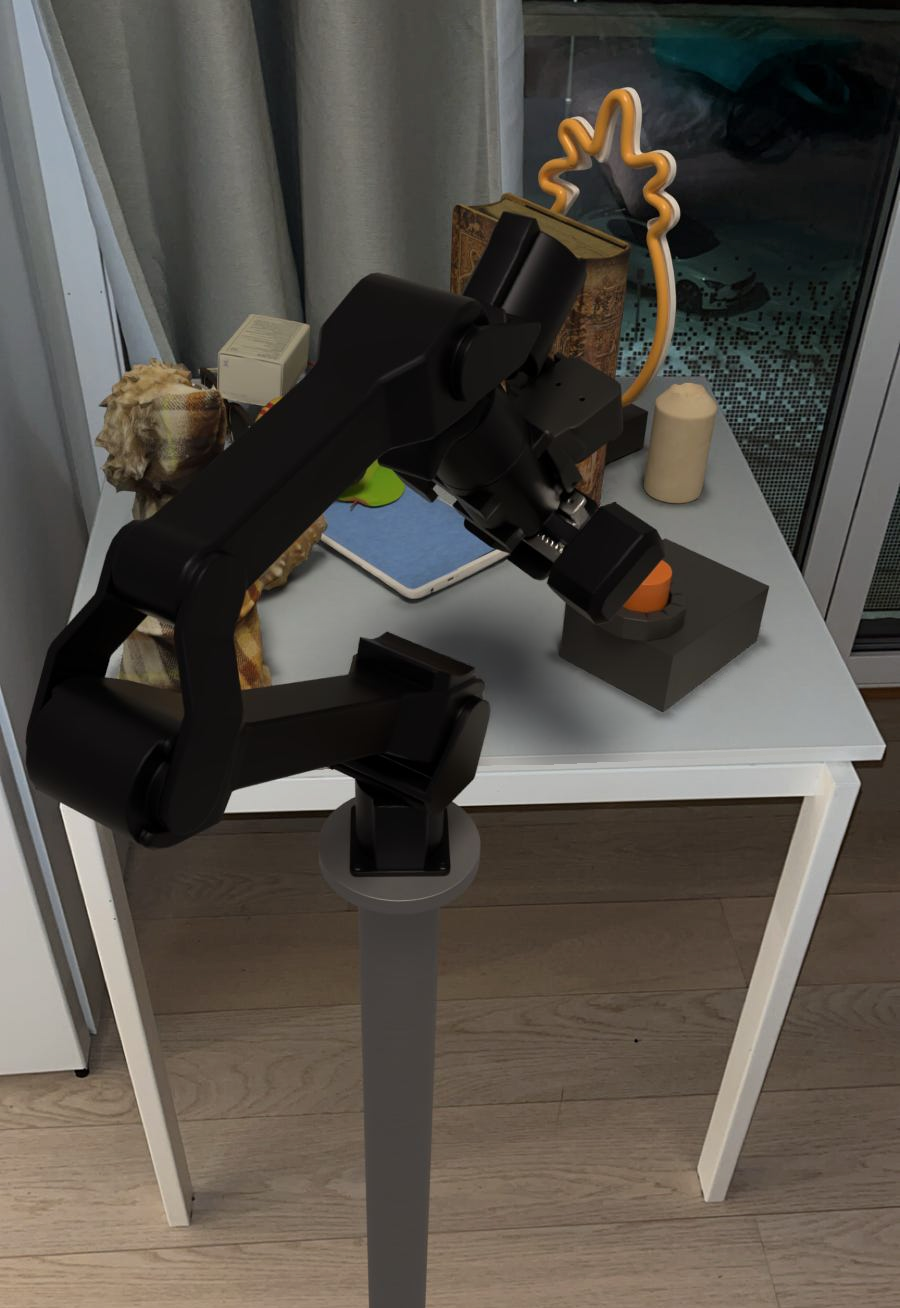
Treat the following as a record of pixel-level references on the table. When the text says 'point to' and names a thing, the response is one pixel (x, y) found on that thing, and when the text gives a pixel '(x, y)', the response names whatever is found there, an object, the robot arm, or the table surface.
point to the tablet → (408, 542)
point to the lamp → (597, 143)
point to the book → (595, 309)
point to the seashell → (293, 555)
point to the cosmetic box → (262, 359)
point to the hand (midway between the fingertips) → (564, 563)
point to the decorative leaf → (375, 487)
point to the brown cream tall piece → (169, 497)
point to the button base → (671, 631)
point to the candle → (679, 443)
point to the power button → (652, 590)
